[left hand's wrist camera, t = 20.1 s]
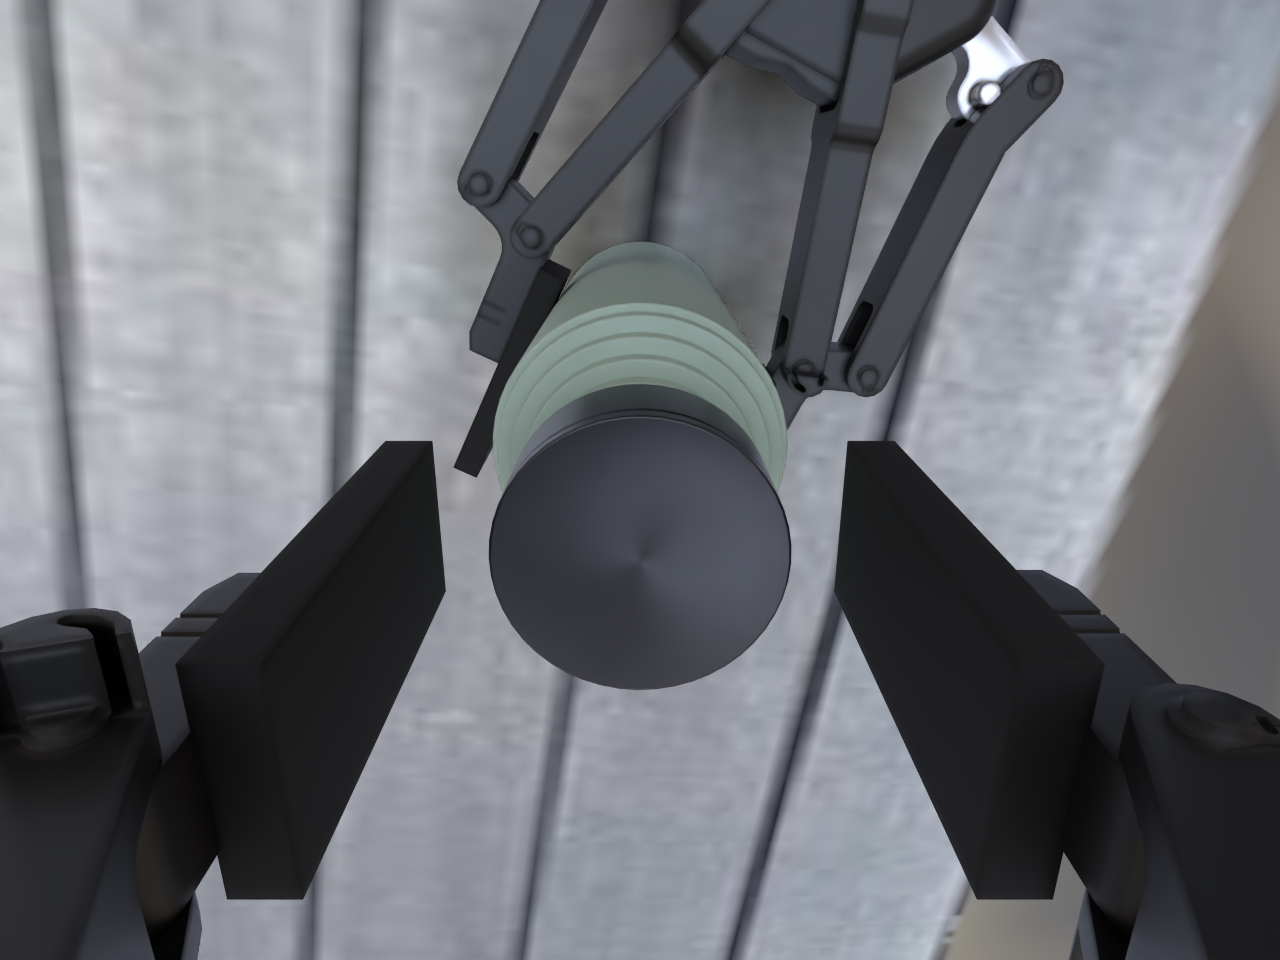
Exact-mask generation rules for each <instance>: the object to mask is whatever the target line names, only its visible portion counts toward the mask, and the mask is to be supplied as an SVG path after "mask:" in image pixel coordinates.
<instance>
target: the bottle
mask: <svg viewBox="0 0 1280 960" xmlns="http://www.w3.org/2000/svg"><path fill="white" fill-rule="evenodd" d="M627 384H651V385H662V386H667V387H671V388H676V389H680V390H683V391H686V392H688V393H691V394H694V395H697V396H699V397H701V398H703V399H705V400H706V401H708V402H710V403H712V404H714V405H715V406H717V407H718V408H720V409H721V410H722V411H724V412H725V413H727V414H728V415H729V416H730V417H731V418H732V419H733V420H734V421H736V422H737V423H738V424H739V425H740V426H741V427H742V429H743V430H744V431H745V432H746V433H747V435H748V436H749V437H750V438H751V440H752V441H753V443H754V445H755V446H756V448H757V449H758V451H759V453H760V455H761V457H762V459H763V462H764V464H765V466H766V468H767V471H768V473H769V475H770V478H771V480H772V482H773V485H774V487H775V489H776V492H778V490H779V487H780V484H781V481H782V477H783V473H784V469H785V464H786V455H787V428H786V422H785V416H784V410H783V407H782V404H781V401H780V398H779V395H778V392H777V390H776V388H775V386H774V384H773V382H772V379H771V377H770V375H769V374H768V372H767V371H766V369H765V367H764V366H763V364H762V363H761V361H760V360H759V358H758V356H757V355H756V353H755V352H754V350H753V349H752V347H751V345H750V344H749V342H748V341H747V339H746V338H745V336H744V334H743V333H742V331H741V330H740V328H739V327H738V325H737V323H736V322H735V320H734V319H733V317H732V316H731V314H730V312H729V311H728V309H727V308H726V306H725V305H724V303H723V301H722V300H721V298H720V297H719V295H718V293H717V292H716V290H715V289H714V287H713V286H712V284H711V282H710V281H709V279H708V278H707V276H706V275H705V273H704V272H703V271H702V270H701V269H700V268H699V267H698V265H696V264H695V263H694V262H693V261H692V260H691V259H690V258H688V257H687V256H685V255H684V254H682V253H681V252H679V251H677V250H675V249H673V248H671V247H668V246H665V245H662V244H657V243H652V242H628V243H623V244H619V245H615V246H613V247H610V248H607V249H605V250H603V251H601V252H600V253H598V254H596V255H595V256H593V257H592V258H591V259H589V260H588V261H587V262H586V263H585V264H584V265H583V266H582V267H581V268H580V269H579V270H578V271H577V273H576V274H575V275H574V276H573V278H572V279H571V281H570V283H569V284H568V286H567V287H566V289H565V290H564V292H563V294H562V295H561V297H560V298H559V300H558V301H557V303H556V305H555V306H554V308H553V309H552V311H551V313H550V314H549V316H548V317H547V319H546V320H545V322H544V324H543V325H542V327H541V328H540V330H539V331H538V333H537V335H536V336H535V338H534V339H533V341H532V342H531V344H530V346H529V347H528V349H527V350H526V352H525V353H524V355H523V357H522V358H521V360H520V361H519V363H518V364H517V366H516V368H515V369H514V371H513V373H512V375H511V376H510V378H509V380H508V381H507V383H506V386H505V388H504V391H503V393H502V395H501V398H500V401H499V405H498V408H497V412H496V416H495V423H494V431H493V455H494V462H495V468H496V473H497V477H498V480H499V483H500V487H501V490H502V492H504V489H505V487H506V485H507V482H508V480H509V478H510V475H511V473H512V471H513V468H514V466H515V464H516V462H517V460H518V458H519V455H520V453H521V451H522V449H523V448H524V446H525V445H526V443H527V442H528V440H529V439H530V437H531V436H532V434H533V433H534V432H535V431H536V430H537V429H538V428H539V427H540V426H541V425H542V423H543V422H544V421H545V420H547V419H548V418H549V417H550V416H551V415H553V414H554V413H555V412H556V411H557V410H559V409H560V408H562V407H564V406H565V405H567V404H568V403H570V402H571V401H573V400H575V399H578V398H580V397H582V396H584V395H586V394H588V393H591V392H594V391H598V390H601V389H604V388H608V387H614V386H619V385H627Z"/></svg>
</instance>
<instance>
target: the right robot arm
mask: <svg viewBox="0 0 1280 960" xmlns="http://www.w3.org/2000/svg"><path fill="white" fill-rule="evenodd" d="M607 1H608V0H540V2H539V4H538V7H537V9H536V11H535V13H534V15H533V17H532V19H531V21H530V24H529V26H528V28H527V30H526V32H525V34H524V36H523V39H522V41H521V43H520V45H519V47H518V49H517V51H516V53H515V56H514V58H513V60H512V62H511V64H510V66H509V68H508V70H507V73H506V75H505V77H504V79H503V81H502V83H501V85H500V88H499V90H498V92H497V94H496V96H495V98H494V100H493V102H492V105H491V107H490V109H489V111H488V113H487V115H486V117H485V119H484V122H483V124H482V126H481V128H480V130H479V132H478V134H477V136H476V139H475V141H474V143H473V145H472V147H471V149H470V151H469V154H468V156H467V158H466V160H465V162H464V164H463V166H462V168H461V171H460V173H459V177H458V181H457V182H458V190H459V192H460V194H461V196H462V198H463V199H464V200H465V201H466V202H467V203H469V204H470V205H472V206H475V207H476V208H477V209H478V210H479V211H480V212H481V213H482V214H483V215H484V216H485V217H486V218H487V219H488V221H489V222H490V223H491V224H492V225H493V226H494V227H495V228H496V230H497V231H498V233H499V235H500V237H501V242H502V253H501V257H500V260H499V262H498V264H497V267H496V269H495V272H494V274H493V276H492V279H491V281H490V284H489V286H488V288H487V291H486V293H485V296H484V298H483V301H482V303H481V305H480V308H479V310H478V313H477V315H476V317H475V320H474V322H473V325H472V327H471V330H470V350H471V351H473V352H475V353H477V354H479V355H482V356H484V357H486V358H488V359H490V360H492V361H494V362H497V363H498V365H497V368H496V370H495V372H494V375H493V377H492V379H491V382H490V384H489V386H488V389H487V391H486V393H485V396H484V398H483V400H482V403H481V405H480V407H479V409H478V412H477V414H476V416H475V419H474V421H473V423H472V426H471V428H470V430H469V433H468V435H467V437H466V440H465V442H464V444H463V446H462V449H461V451H460V453H459V456H458V458H457V460H456V463H455V465H454V467H453V468H456V469H458V470H460V471H463V472H465V473H467V474H469V475H472V476H474V477H476V478H477V476H478V474H479V472H480V470H481V468H482V466H483V465H484V463H485V461H486V459H487V457H488V455H489V453H490V451H491V450H492V447H493V431H494V423H495V416H496V412H497V408H498V405H499V401H500V398H501V395H502V393H503V391H504V388H505V386H506V383H507V381H508V380H509V378H510V376H511V375H512V373H513V371H514V369H515V368H516V366H517V364H518V363H519V361H520V360H521V358H522V357H523V355H524V353H525V352H526V350H527V349H528V347H529V346H530V344H531V342H532V341H533V339H534V338H535V336H536V335H537V333H538V331H539V330H540V328H541V327H542V325H543V324H544V322H545V320H546V319H547V317H548V316H549V314H550V313H551V311H552V309H553V308H554V306H555V305H556V303H557V301H558V299H559V297H560V294H561V292H562V290H563V288H564V285H565V283H566V281H567V279H568V276H569V274H570V272H571V270H570V269H568V268H566V267H564V266H562V265H559V264H557V263H555V262H553V261H551V260H549V259H550V257H551V254H552V252H553V250H554V248H555V245H557V244H558V242H559V241H560V240H561V239H562V238H563V236H564V235H565V234H566V233H567V232H568V231H569V230H570V229H571V227H572V226H573V225H574V224H575V223H576V222H577V221H578V219H579V218H580V217H581V216H582V215H583V214H584V213H585V212H586V210H587V209H588V208H589V207H590V206H591V205H592V204H593V203H594V201H595V200H596V199H597V198H598V197H599V196H600V195H601V194H602V192H603V191H604V190H605V189H606V188H607V187H608V186H609V184H610V183H611V182H612V181H613V180H614V179H615V178H616V177H617V175H618V174H619V173H620V172H621V171H622V170H623V169H624V168H625V166H626V165H627V164H628V163H629V162H630V161H631V160H632V159H633V157H634V156H635V155H636V154H637V153H638V152H639V151H640V150H641V148H642V147H643V146H644V145H645V144H646V143H647V142H648V140H649V139H650V138H651V137H652V136H653V135H654V134H655V133H656V131H657V130H658V129H659V128H660V127H661V126H662V125H663V124H664V122H665V121H666V120H667V119H668V118H669V117H670V116H671V115H672V113H673V112H674V111H675V110H676V109H677V108H678V107H679V105H680V104H681V103H682V102H683V101H684V100H685V99H686V98H687V96H688V95H689V94H690V93H691V92H692V91H693V90H694V89H695V87H696V86H697V85H698V84H699V83H700V82H701V81H702V80H703V79H704V78H705V77H706V75H707V74H708V73H709V72H710V71H711V70H712V69H713V68H714V66H715V65H716V64H717V63H718V62H719V61H720V60H721V59H722V57H723V56H724V55H725V54H726V55H727V56H729V57H731V58H733V59H735V60H737V61H738V62H740V63H742V64H744V65H746V66H748V67H750V68H755V69H759V70H764V71H769V72H773V73H776V74H778V75H779V76H780V77H781V78H782V79H783V80H784V81H785V82H786V83H787V84H788V85H789V86H790V87H791V88H792V89H793V90H794V91H795V92H796V93H797V94H799V95H800V96H802V97H804V98H806V99H808V100H810V101H811V102H813V103H815V104H817V107H816V112H815V117H814V122H813V128H812V136H811V140H812V147H811V153H810V158H809V163H808V169H807V174H806V179H805V184H804V189H803V194H802V199H801V204H800V209H799V214H798V219H797V225H796V230H795V235H794V240H793V245H792V250H791V255H790V260H789V265H788V270H787V275H786V280H785V286H784V291H783V296H782V301H781V306H780V311H779V316H778V321H777V326H776V331H775V336H774V341H773V347H772V357H771V359H770V361H769V363H768V364H767V366H766V367H765V365H764V364H763V366H764V367H765V369H766V371H767V372H768V374H769V375H770V377H771V379H772V382H773V384H774V386H775V388H776V390H777V392H778V395H779V398H780V401H781V404H782V407H783V410H784V416H785V422H786V428H787V430H788V428H789V426H790V424H791V423H792V421H793V419H794V417H795V416H796V414H797V412H798V410H799V409H800V407H801V405H802V404H803V402H804V401H805V399H806V398H808V397H813V396H815V395H817V394H820V393H821V392H822V391H823V390H836V391H846V392H854V393H855V394H857V395H858V396H863V397H870V396H874V395H876V394H878V393H879V392H881V391H882V390H883V388H884V387H885V386H886V384H887V382H888V380H889V378H890V376H891V375H892V373H893V371H894V369H895V367H896V365H897V363H898V361H899V359H900V357H901V355H902V353H903V351H904V349H905V347H906V345H907V343H908V341H909V339H910V337H911V335H912V334H913V332H914V330H915V328H916V326H917V324H918V322H919V320H920V318H921V316H922V314H923V312H924V310H925V308H926V306H927V304H928V302H929V300H930V298H931V296H932V294H933V292H934V291H935V289H936V287H937V285H938V283H939V281H940V279H941V277H942V275H943V273H944V271H945V269H946V267H947V265H948V263H949V261H950V259H951V257H952V255H953V253H954V251H955V250H956V248H957V246H958V244H959V242H960V240H961V238H962V236H963V234H964V232H965V230H966V228H967V226H968V224H969V222H970V220H971V218H972V216H973V214H974V212H975V210H976V209H977V207H978V205H979V203H980V201H981V199H982V197H983V195H984V193H985V191H986V189H987V187H988V185H989V183H990V181H991V179H992V177H993V175H994V173H995V171H996V169H997V167H998V166H999V164H1000V162H1001V160H1002V158H1003V156H1004V154H1005V152H1006V151H1007V150H1008V149H1009V148H1010V147H1011V146H1012V145H1013V144H1014V143H1015V142H1016V141H1017V140H1018V139H1019V138H1020V137H1021V135H1022V134H1023V133H1024V132H1025V131H1026V130H1027V129H1028V128H1029V127H1030V126H1031V125H1032V124H1033V123H1034V122H1035V121H1036V120H1037V119H1038V118H1039V117H1040V116H1041V115H1042V114H1043V113H1044V112H1045V111H1046V110H1047V109H1048V108H1049V107H1050V106H1051V105H1052V104H1053V103H1054V102H1055V100H1056V99H1057V97H1058V96H1059V94H1060V93H1061V90H1062V87H1063V83H1064V82H1063V73H1062V71H1061V69H1060V67H1059V65H1058V64H1056V63H1055V62H1053V61H1052V60H1047V59H1040V60H1037V61H1033V62H1032V61H1030V60H1029V59H1028V58H1027V56H1026V55H1025V54H1024V53H1023V52H1022V51H1021V49H1020V48H1019V47H1018V46H1017V45H1016V44H1015V42H1014V41H1013V40H1012V39H1011V38H1010V37H1009V36H1008V34H1007V33H1006V32H1005V31H1004V30H1003V29H1002V27H1001V26H1000V25H999V24H998V23H997V22H996V20H995V19H994V18H993V17H992V14H993V11H994V8H995V5H996V1H997V0H703V1H702V2H701V3H700V5H699V6H698V7H697V8H696V9H695V10H694V12H693V13H692V14H691V15H690V16H689V17H688V19H687V20H686V21H685V22H684V23H683V25H682V26H681V27H680V28H679V30H678V31H677V32H676V34H675V35H674V36H673V38H672V39H671V40H670V42H669V43H668V44H667V45H666V46H665V47H664V49H663V50H662V51H661V52H660V53H659V54H658V56H657V57H656V58H655V59H654V60H653V61H652V62H651V64H650V65H649V66H648V67H647V68H646V69H645V71H644V72H643V73H642V74H641V75H640V76H639V78H638V79H637V80H636V81H635V82H634V83H633V85H632V86H631V87H630V88H629V89H628V90H627V91H626V93H625V94H624V95H623V96H622V97H621V98H620V100H619V101H618V102H617V103H616V104H615V105H614V107H613V108H612V109H611V110H610V111H609V112H608V114H607V115H606V116H605V117H604V118H603V119H602V121H601V122H600V123H599V124H598V125H597V126H596V127H595V129H594V130H593V131H592V132H591V133H590V134H589V136H588V137H587V138H586V139H585V140H584V141H583V143H582V144H581V145H580V146H579V147H578V148H577V150H576V151H575V152H574V153H573V154H572V155H571V156H570V158H569V159H568V160H567V161H566V162H565V163H564V165H563V166H562V167H561V168H560V169H559V170H558V172H557V173H556V174H555V175H554V176H553V177H552V179H551V180H550V181H549V182H548V183H547V184H546V186H545V187H544V188H543V189H542V190H541V191H540V192H539V194H538V195H537V196H536V197H535V198H533V196H532V195H531V194H530V193H529V192H528V191H527V190H526V189H525V188H524V187H523V186H522V185H521V184H520V183H519V182H518V181H519V179H520V177H521V175H522V173H523V171H524V169H525V167H526V165H527V163H528V161H529V159H530V157H531V155H532V153H533V151H534V149H535V147H536V144H537V142H538V140H539V138H540V136H541V134H542V132H543V130H544V128H545V126H546V124H547V122H548V120H549V118H550V116H551V114H552V112H553V110H554V108H555V106H556V104H557V102H558V100H559V98H560V96H561V94H562V92H563V90H564V88H565V86H566V84H567V82H568V80H569V78H570V76H571V74H572V72H573V70H574V68H575V66H576V64H577V61H578V59H579V57H580V55H581V53H582V51H583V49H584V47H585V45H586V43H587V41H588V39H589V37H590V35H591V33H592V31H593V29H594V27H595V25H596V23H597V21H598V19H599V17H600V15H601V13H602V11H603V9H604V7H605V5H606V3H607ZM950 52H952V53H953V55H954V56H955V58H956V62H957V74H956V77H955V80H954V82H953V83H952V85H951V87H950V89H949V90H948V93H947V97H946V105H947V109H948V112H949V113H950V115H951V116H952V118H951V119H950V121H949V122H948V123H947V124H946V126H945V127H944V129H943V130H942V131H941V133H940V134H939V136H938V137H937V139H936V141H935V142H934V144H933V146H932V148H931V150H930V151H929V153H928V155H927V157H926V159H925V161H924V164H923V166H922V168H921V170H920V172H919V174H918V176H917V178H916V180H915V182H914V184H913V186H912V188H911V190H910V193H909V195H908V197H907V199H906V201H905V203H904V205H903V207H902V209H901V211H900V213H899V215H898V217H897V219H896V222H895V224H894V226H893V228H892V230H891V232H890V234H889V236H888V238H887V240H886V242H885V244H884V246H883V248H882V251H881V253H880V255H879V257H878V259H877V261H876V263H875V265H874V267H873V269H872V271H871V273H870V275H869V277H868V280H867V282H866V284H865V286H864V288H863V290H862V292H861V294H860V296H859V298H858V300H857V302H856V304H855V306H854V309H853V311H852V313H851V315H850V317H849V319H848V321H847V323H846V325H845V327H844V329H843V331H842V333H841V335H840V338H839V340H838V342H831V340H832V335H833V331H834V326H835V321H836V317H837V312H838V308H839V303H840V299H841V294H842V290H843V285H844V281H845V276H846V272H847V267H848V262H849V258H850V253H851V249H852V244H853V240H854V235H855V231H856V226H857V222H858V217H859V213H860V208H861V203H862V199H863V194H864V190H865V185H866V181H867V176H868V172H869V167H870V163H871V158H872V154H873V151H874V148H875V146H876V144H877V143H878V141H879V139H880V136H881V133H882V130H883V126H884V122H885V117H886V113H887V108H888V104H889V99H890V95H891V90H892V86H893V84H894V83H896V82H898V81H900V80H902V79H903V78H905V77H907V76H909V75H910V74H912V73H914V72H916V71H918V70H919V69H921V68H923V67H925V66H927V65H928V64H930V63H932V62H934V61H935V60H937V59H939V58H941V57H943V56H944V55H946V54H948V53H950Z"/></svg>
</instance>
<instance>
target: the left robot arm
mask: <svg viewBox="0 0 1280 960" xmlns="http://www.w3.org/2000/svg"><path fill="white" fill-rule="evenodd" d="M445 592H446V588H445V577H444V566H443V555H442V544H441V533H440V521H439V510H438V499H437V488H436V477H435V465H434V454H433V443H432V441H385V442H384V443H383V444H382V445H381V446H380V448H379V449H378V450H377V451H376V452H375V453H374V454H373V455H372V456H371V457H370V458H369V459H368V460H367V461H366V462H365V463H364V464H363V466H362V467H361V468H360V469H359V470H358V471H357V472H356V473H355V474H354V475H353V476H352V477H351V478H350V479H349V480H348V481H347V482H346V484H345V485H344V486H343V487H342V488H341V489H340V490H339V491H338V492H337V493H336V494H335V495H334V496H333V497H332V498H331V499H330V500H329V502H328V503H327V504H326V505H325V506H324V507H323V508H322V509H321V510H320V511H319V512H318V513H317V514H316V515H315V516H314V517H313V518H312V520H311V521H310V522H309V523H308V524H307V525H306V526H305V527H304V528H303V529H302V530H301V531H300V532H299V533H298V534H297V535H296V536H295V538H294V539H293V540H292V541H291V542H290V543H289V544H288V545H287V546H286V547H285V548H284V549H283V550H282V551H281V552H280V553H279V554H278V556H277V557H276V558H275V559H274V560H273V561H272V562H271V563H270V564H269V565H268V566H267V567H266V568H265V569H264V570H263V571H262V572H261V573H237V574H236V575H234V576H232V577H230V578H228V579H226V580H224V581H222V582H220V583H219V584H217V585H215V586H213V587H211V588H209V589H207V590H205V591H203V592H202V593H201V594H200V595H199V596H198V597H197V598H196V599H195V600H194V601H193V602H192V603H191V604H190V605H189V606H188V607H187V608H186V609H185V610H184V611H182V612H181V613H180V618H175V619H174V620H173V621H172V622H171V623H170V624H169V625H168V626H167V627H166V628H165V629H164V630H163V631H162V632H161V637H155V638H154V639H153V640H152V641H151V642H150V643H149V644H148V645H147V646H146V647H145V648H144V649H143V650H142V651H141V652H140V653H139V654H138V649H137V645H136V641H135V637H134V633H133V628H132V624H131V620H130V619H128V618H127V617H125V616H124V615H122V614H121V613H119V612H118V611H111V610H104V609H97V608H90V609H75V610H63V611H58V612H54V613H49V614H44V615H39V616H35V617H30V618H28V619H25V620H22V621H19V622H16V623H13V624H10V625H8V626H5V627H2V628H0V960H197V958H198V951H199V945H200V938H201V932H202V925H201V917H200V910H199V906H198V902H197V898H196V893H195V890H196V888H197V887H198V885H199V883H200V882H201V880H202V879H203V877H204V875H205V874H206V872H207V870H208V869H209V867H210V866H211V864H212V862H213V861H214V859H215V858H216V856H218V860H219V865H220V869H221V874H222V878H223V883H224V887H225V892H226V896H227V899H303V898H304V896H305V894H306V892H307V890H308V888H309V885H310V883H311V881H312V879H313V877H314V875H315V872H316V870H317V868H318V866H319V864H320V862H321V859H322V857H323V855H324V853H325V851H326V849H327V847H328V844H329V842H330V840H331V838H332V836H333V834H334V831H335V829H336V827H337V825H338V823H339V821H340V818H341V816H342V814H343V812H344V810H345V808H346V805H347V803H348V801H349V799H350V797H351V795H352V793H353V790H354V788H355V786H356V784H357V782H358V780H359V777H360V775H361V773H362V771H363V769H364V767H365V764H366V762H367V760H368V758H369V756H370V754H371V751H372V749H373V747H374V745H375V743H376V741H377V739H378V736H379V734H380V732H381V730H382V728H383V726H384V723H385V721H386V719H387V717H388V715H389V713H390V710H391V708H392V706H393V704H394V702H395V700H396V698H397V695H398V693H399V691H400V689H401V687H402V685H403V682H404V680H405V678H406V676H407V674H408V672H409V669H410V667H411V665H412V663H413V661H414V659H415V656H416V654H417V652H418V650H419V648H420V646H421V644H422V641H423V639H424V637H425V635H426V633H427V631H428V628H429V626H430V624H431V622H432V620H433V618H434V615H435V613H436V611H437V609H438V607H439V605H440V602H441V600H442V598H443V596H444V594H445ZM834 592H835V594H836V596H837V598H838V600H839V602H840V605H841V607H842V609H843V611H844V613H845V615H846V618H847V620H848V622H849V624H850V626H851V628H852V631H853V633H854V635H855V637H856V639H857V641H858V644H859V646H860V648H861V650H862V652H863V654H864V656H865V659H866V661H867V663H868V665H869V667H870V669H871V672H872V674H873V676H874V678H875V680H876V682H877V685H878V687H879V689H880V691H881V693H882V695H883V698H884V700H885V702H886V704H887V706H888V708H889V710H890V713H891V715H892V717H893V719H894V721H895V723H896V726H897V728H898V730H899V732H900V734H901V736H902V739H903V741H904V743H905V745H906V747H907V749H908V751H909V754H910V756H911V758H912V760H913V762H914V764H915V767H916V769H917V771H918V773H919V775H920V777H921V780H922V782H923V784H924V786H925V788H926V790H927V793H928V795H929V797H930V799H931V801H932V803H933V805H934V808H935V810H936V812H937V814H938V816H939V818H940V821H941V823H942V825H943V827H944V829H945V831H946V834H947V836H948V838H949V840H950V842H951V844H952V847H953V849H954V851H955V853H956V855H957V857H958V859H959V862H960V864H961V866H962V868H963V870H964V872H965V875H966V877H967V879H968V881H969V883H970V885H971V888H972V890H973V892H974V894H975V896H976V898H977V899H1053V896H1054V892H1055V887H1056V883H1057V878H1058V873H1059V869H1060V865H1061V860H1062V856H1063V851H1064V853H1065V855H1066V856H1067V858H1068V860H1069V861H1070V863H1071V864H1072V866H1073V867H1074V869H1075V871H1076V872H1077V874H1078V875H1079V877H1080V879H1081V880H1082V882H1083V884H1084V885H1085V887H1086V889H1085V893H1084V898H1083V902H1082V906H1081V910H1080V914H1079V919H1078V923H1077V927H1076V931H1075V935H1074V940H1073V944H1072V948H1071V952H1070V956H1069V960H1280V720H1279V719H1278V718H1276V717H1275V716H1273V715H1272V714H1270V713H1268V712H1267V711H1265V710H1264V709H1262V708H1260V707H1259V706H1257V705H1254V704H1252V703H1249V702H1247V701H1245V700H1242V699H1240V698H1237V697H1235V696H1233V695H1230V694H1228V693H1224V692H1220V691H1216V690H1212V689H1208V688H1204V687H1200V686H1196V685H1186V684H1177V683H1176V682H1175V681H1174V680H1173V679H1172V678H1171V677H1170V676H1169V675H1167V674H1166V673H1165V672H1164V671H1163V670H1162V669H1161V668H1160V667H1159V666H1158V665H1157V664H1156V663H1155V662H1154V661H1153V660H1152V659H1151V658H1150V657H1149V656H1148V655H1147V654H1145V653H1144V652H1143V651H1142V650H1141V649H1140V648H1139V647H1138V646H1137V645H1136V644H1135V643H1134V642H1133V641H1132V640H1131V639H1130V638H1129V637H1128V636H1127V635H1126V634H1124V633H1120V632H1119V628H1118V627H1117V626H1116V625H1115V624H1114V623H1113V622H1112V621H1111V620H1110V619H1109V618H1108V617H1107V616H1106V615H1101V614H1100V610H1099V609H1098V608H1097V607H1096V606H1095V605H1094V604H1093V603H1092V602H1091V601H1090V600H1089V599H1088V598H1087V597H1086V596H1085V595H1084V594H1083V593H1081V592H1080V591H1079V590H1078V589H1077V588H1075V587H1073V586H1071V585H1070V584H1068V583H1066V582H1064V581H1062V580H1060V579H1058V578H1056V577H1054V576H1052V575H1050V574H1049V573H1047V572H1045V571H1043V570H1016V569H1015V568H1014V567H1013V566H1012V565H1011V564H1010V563H1009V562H1008V561H1007V560H1006V559H1005V558H1004V557H1003V556H1002V554H1001V553H1000V552H999V551H998V550H997V549H996V548H995V547H994V546H993V545H992V544H991V543H990V542H989V541H988V540H987V539H986V538H985V536H984V535H983V534H982V533H981V532H980V531H979V530H978V529H977V528H976V527H975V526H974V525H973V524H972V523H971V522H970V521H969V520H968V518H967V517H966V516H965V515H964V514H963V513H962V512H961V511H960V510H959V509H958V508H957V507H956V506H955V505H954V504H953V503H952V502H951V500H950V499H949V498H948V497H947V496H946V495H945V494H944V493H943V492H942V491H941V490H940V489H939V488H938V487H937V486H936V485H935V484H934V482H933V481H932V480H931V479H930V478H929V477H928V476H927V475H926V474H925V473H924V472H923V471H922V470H921V469H920V468H919V467H918V466H917V464H916V463H915V462H914V461H913V460H912V459H911V458H910V457H909V456H908V455H907V454H906V453H905V452H904V451H903V450H902V449H901V448H900V446H899V445H898V444H897V443H896V442H895V441H848V443H847V454H846V466H845V477H844V488H843V499H842V510H841V521H840V533H839V544H838V555H837V566H836V577H835V588H834Z"/></svg>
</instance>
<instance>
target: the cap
mask: <svg viewBox="0 0 1280 960" xmlns="http://www.w3.org/2000/svg"><path fill="white" fill-rule="evenodd" d="M489 564H490V572H491V578H492V582H493V585H494V589H495V593H496V595H497V598H498V600H499V602H500V605H501V607H502V609H503V611H504V613H505V614H506V616H507V618H508V619H509V621H510V623H511V625H512V626H513V627H514V629H515V630H516V631H517V632H518V634H519V635H520V636H521V637H522V639H523V640H524V641H525V642H526V643H527V644H528V645H529V646H530V647H531V648H532V649H533V650H534V651H535V652H537V653H538V654H539V655H541V656H542V657H543V658H544V659H546V660H547V661H548V662H550V663H551V664H553V665H555V666H556V667H558V668H560V669H561V670H563V671H565V672H567V673H569V674H571V675H574V676H576V677H578V678H580V679H583V680H586V681H589V682H592V683H596V684H599V685H603V686H608V687H614V688H620V689H633V690H645V689H660V688H666V687H673V686H677V685H681V684H684V683H688V682H692V681H694V680H697V679H699V678H702V677H705V676H707V675H709V674H711V673H713V672H715V671H717V670H719V669H721V668H722V667H724V666H726V665H727V664H729V663H730V662H732V661H733V660H734V659H736V658H737V657H739V656H740V655H741V654H742V653H743V652H744V651H746V650H747V649H748V648H749V647H750V646H751V645H752V644H753V643H754V642H755V641H756V640H757V639H758V637H759V636H760V635H761V634H762V633H763V632H764V630H765V629H766V627H767V626H768V624H769V623H770V621H771V620H772V618H773V617H774V615H775V613H776V611H777V609H778V607H779V605H780V603H781V601H782V599H783V596H784V593H785V589H786V586H787V583H788V579H789V572H790V566H791V539H790V531H789V525H788V522H787V518H786V515H785V511H784V508H783V506H782V504H781V501H780V499H779V497H778V494H777V492H776V489H775V487H774V485H773V482H772V480H771V478H770V475H769V473H768V471H767V468H766V466H765V464H764V462H763V459H762V457H761V455H760V453H759V451H758V449H757V448H756V446H755V445H754V443H753V441H752V440H751V438H750V437H749V436H748V435H747V433H746V432H745V431H744V430H743V429H742V427H741V426H740V425H739V424H738V423H737V422H736V421H734V420H733V419H732V418H731V417H730V416H729V415H728V414H727V413H725V412H724V411H722V410H721V409H720V408H718V407H717V406H715V405H714V404H712V403H710V402H708V401H706V400H705V399H703V398H701V397H699V396H697V395H694V394H691V393H688V392H686V391H683V390H680V389H676V388H671V387H667V386H662V385H651V384H627V385H619V386H614V387H608V388H604V389H601V390H598V391H594V392H591V393H588V394H586V395H584V396H582V397H580V398H578V399H575V400H573V401H571V402H570V403H568V404H567V405H565V406H564V407H562V408H560V409H559V410H557V411H556V412H555V413H554V414H553V415H551V416H550V417H549V418H548V419H547V420H545V421H544V422H543V423H542V425H541V426H540V427H539V428H538V429H537V430H536V431H535V432H534V433H533V434H532V436H531V437H530V439H529V440H528V442H527V443H526V445H525V446H524V448H523V449H522V451H521V453H520V455H519V458H518V460H517V462H516V464H515V466H514V468H513V471H512V473H511V475H510V478H509V480H508V482H507V485H506V487H505V489H504V492H503V494H502V497H501V499H500V501H499V504H498V506H497V509H496V512H495V515H494V519H493V522H492V527H491V533H490V539H489Z"/></svg>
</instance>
